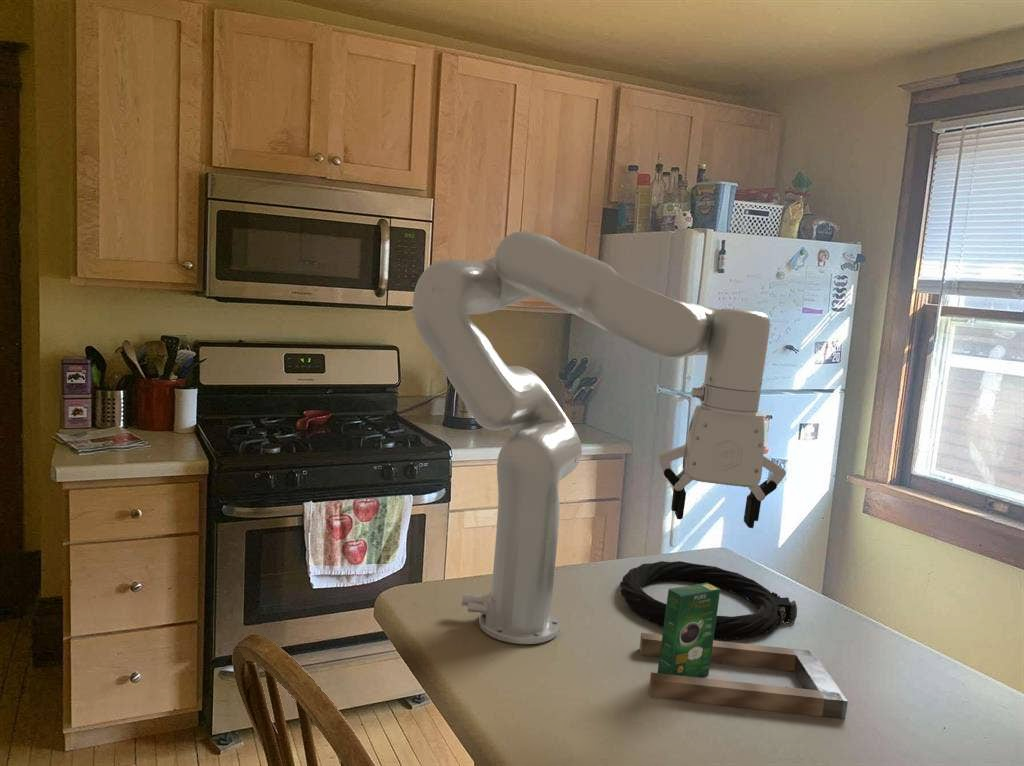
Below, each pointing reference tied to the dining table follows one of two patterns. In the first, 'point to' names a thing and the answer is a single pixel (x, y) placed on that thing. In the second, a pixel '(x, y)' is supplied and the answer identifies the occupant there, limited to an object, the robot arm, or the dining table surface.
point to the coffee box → (689, 630)
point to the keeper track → (812, 700)
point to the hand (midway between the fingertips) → (713, 520)
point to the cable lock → (726, 627)
